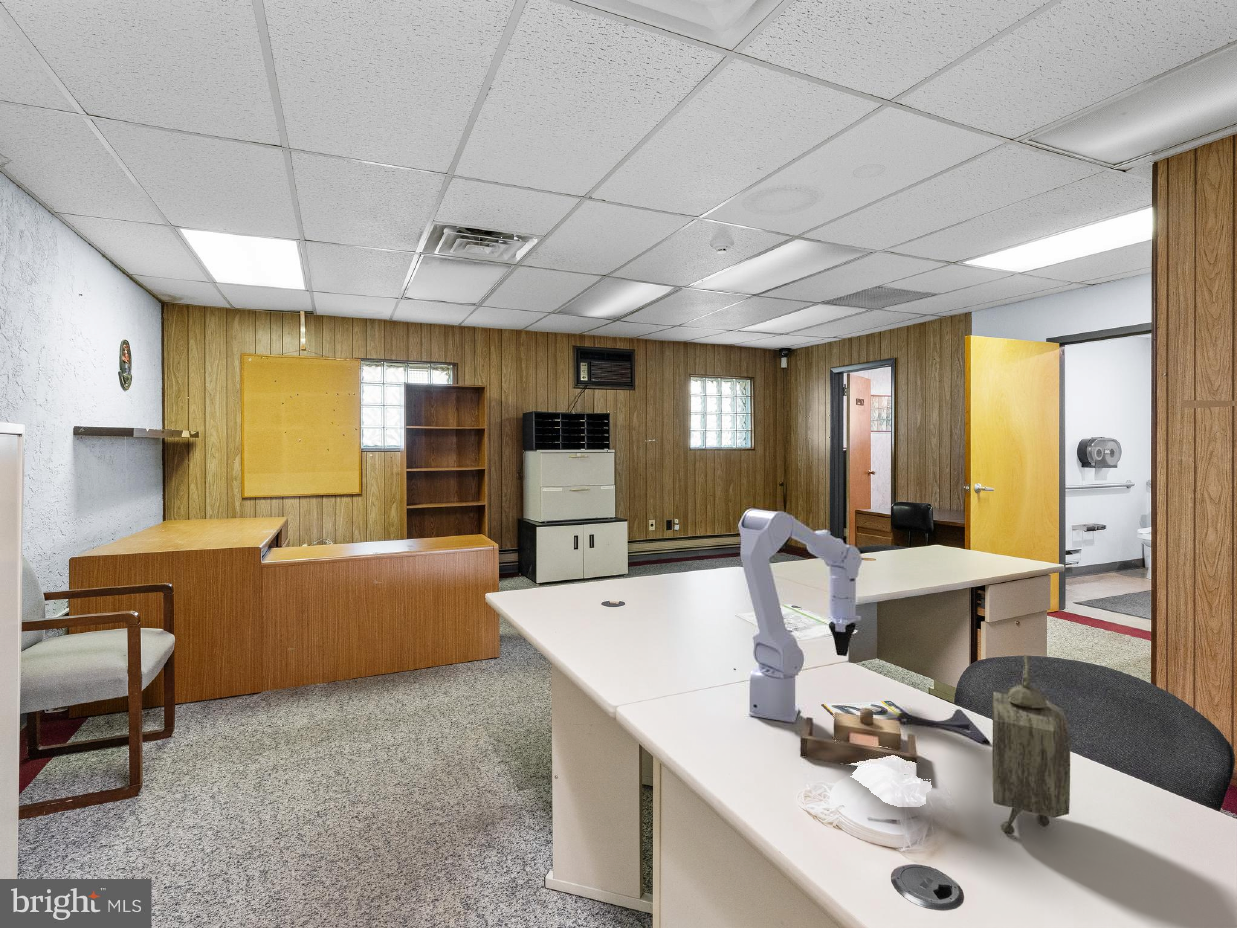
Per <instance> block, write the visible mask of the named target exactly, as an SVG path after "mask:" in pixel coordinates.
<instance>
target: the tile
mask: <svg viewBox="0 0 1237 928" xmlns="http://www.w3.org/2000/svg"><path fill="white" fill-rule="evenodd" d="M850 743H853V744H858V745H864V746H870V747H876V748H879V744H878V736H875V735H869V734H862V733H855V732H850Z"/></svg>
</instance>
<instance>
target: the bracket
mask: <svg viewBox="0 0 1237 928" xmlns="http://www.w3.org/2000/svg"><path fill="white" fill-rule="evenodd" d="M904 719H905V720H904ZM903 720H904V721H903ZM896 721H899V722H900V725H907V726H916V727H917V726H919V727H932V728H933V727H934V728H939V729H944V730H947V731H950V732H953V733H956V734H958V735H962V736H964V737H966V738H968V739H970V740H972V741H974V742H975V743H977V744H981V745H983V742H985V743H986V745H988V746H990V745H991V741H990V740H989V738H987V737H986V735H985V734H984V733H982V731H981V730H980V729H979V728H978V727H977V726H976V724H974V722H973V721H972V720H971V718H969V717H968V716H967V714H965V713H964V712H963V711H962V710H961V709H960V708H959V709H958V708H957V709H955V710H954V713H953V715H952V716H950V717H949V718H947V719H944V720H933V719H927V718H922V717H920V716H916V715H912V714H909V713H907V712H905V711H904V712H900V713H898V715H897V717H896ZM967 730H968V731H967Z"/></svg>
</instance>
